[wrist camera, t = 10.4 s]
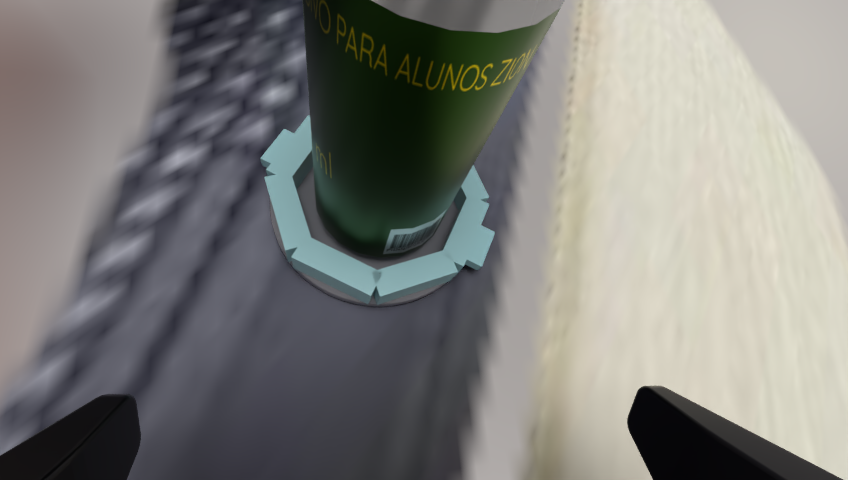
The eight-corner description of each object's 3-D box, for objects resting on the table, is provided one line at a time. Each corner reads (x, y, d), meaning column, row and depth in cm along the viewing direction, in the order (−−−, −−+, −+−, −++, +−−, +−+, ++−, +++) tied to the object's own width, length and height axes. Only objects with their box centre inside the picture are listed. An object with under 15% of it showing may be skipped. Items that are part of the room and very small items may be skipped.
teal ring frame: (443, 351, 16) (455, 343, 15) (213, 238, 16) (199, 218, 14) (509, 184, 20) (525, 163, 19) (326, 93, 20) (325, 65, 18)
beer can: (463, 224, 18) (660, -66, 7) (362, 289, 16) (431, 12, 5) (393, 137, 19) (474, -224, 8) (290, 186, 17) (223, -215, 6)
